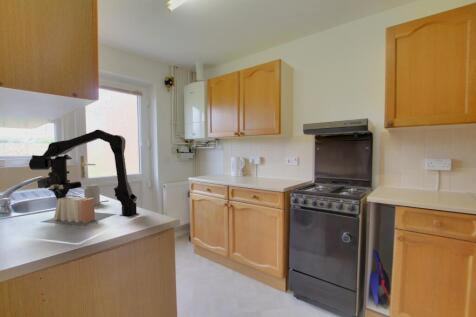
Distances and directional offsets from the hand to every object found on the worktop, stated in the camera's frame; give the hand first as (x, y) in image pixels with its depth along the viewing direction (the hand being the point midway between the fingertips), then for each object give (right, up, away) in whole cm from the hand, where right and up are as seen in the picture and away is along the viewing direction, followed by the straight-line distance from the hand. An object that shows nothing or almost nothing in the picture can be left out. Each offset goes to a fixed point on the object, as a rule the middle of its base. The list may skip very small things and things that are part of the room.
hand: (60, 202), depth 107 cm
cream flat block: (+3, -7, 0) cm, 8 cm away
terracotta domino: (+15, -8, -3) cm, 17 cm away
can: (-2, -7, +27) cm, 27 cm away
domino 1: (-1, -7, 0) cm, 7 cm away
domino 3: (+7, -8, -1) cm, 11 cm away
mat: (+8, -8, +2) cm, 11 cm away
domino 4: (+11, -8, -2) cm, 14 cm away
